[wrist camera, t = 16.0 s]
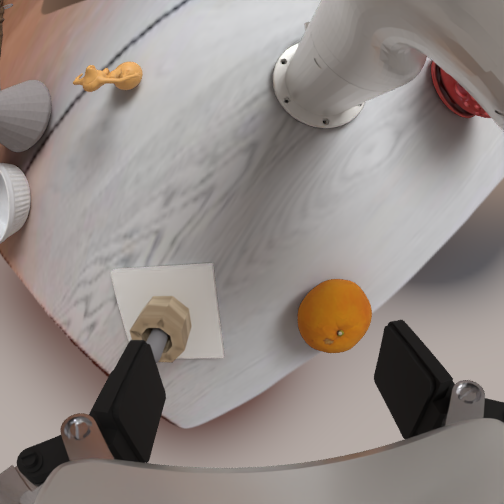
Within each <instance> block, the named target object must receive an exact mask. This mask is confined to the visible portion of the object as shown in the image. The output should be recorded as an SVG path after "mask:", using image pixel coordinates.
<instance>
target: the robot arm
mask: <svg viewBox="0 0 504 504" xmlns="http://www.w3.org/2000/svg"><path fill="white" fill-rule="evenodd" d="M304 25H305V33H304V35H303V37H302V39H301V41H300V43H297V44H295V45H293V46H291V47H289V48H288V49H287V50H285V51H284V52H283V53H282V55H281V56H280V57H279V59H278V60H277V62H276V64H275V67H274V71H273V78H272V79H273V88H274V91H275V95H276V97H277V99H278V101H279V103H280V104H281V105H282V107H283V108H284V109H285V110H286V111H287V112H288V113H289V114H290V115H291V116H292V117H294V118H295V119H297V120H298V121H300V122H302V123H304V124H306V125H309V126H313V127H317V128H334V127H338V126H341V125H344V124H346V123H348V122H350V121H351V120H353V119H354V118H355V117H356V116H357V115H358V114H359V113H360V112H361V110H362V108H363V107H364V104H365V102H366V101H368V100H370V99H373V98H375V97H377V96H380V95H382V94H384V93H387V92H389V91H392V90H394V89H396V88H398V87H401V86H403V85H405V84H407V83H409V82H410V81H412V80H413V79H414V78H415V77H416V76H417V75H418V74H419V73H420V71H421V69H422V68H423V66H424V63H425V61H426V57H428V58H430V59H431V60H432V61H433V62H435V63H436V64H437V65H438V66H439V67H441V68H442V69H443V70H444V71H445V72H446V73H447V74H449V75H451V76H452V77H453V78H454V79H455V80H456V81H457V82H458V83H459V84H460V85H461V86H462V87H463V88H464V89H465V90H466V91H467V92H468V93H469V94H470V95H471V96H472V97H473V98H474V99H475V100H476V101H477V102H478V103H479V105H480V106H481V107H482V108H483V109H484V110H485V111H486V112H487V114H488V115H489V116H490V117H491V118H492V119H493V120H494V121H495V123H496V124H497V125H498V126H499V127H500V128H501V129H502V130H503V132H504V0H321V2H320V4H319V6H318V8H317V10H316V12H315V14H314V15H313V17H312V19H311V21H310V22H307V23H305V24H304ZM281 62H284V63H285V64H282V63H281ZM284 100H287V101H288V103H285V102H284ZM357 105H358V106H357ZM323 121H325V122H326V124H323ZM374 380H375V384H376V385H377V387H378V389H379V391H380V393H381V395H382V397H383V399H384V401H385V403H386V405H387V406H388V408H389V410H390V412H391V414H392V416H393V418H394V420H395V422H396V424H397V426H398V428H399V430H400V432H401V434H402V436H403V438H404V439H405V440H402V441H399V442H395V443H392V444H389V445H385V446H382V447H378V448H375V449H371V450H367V451H363V452H359V453H354V454H349V455H345V456H340V457H335V458H329V459H324V460H318V461H311V462H304V463H297V464H288V465H278V466H266V467H248V468H200V467H182V466H169V465H158V464H149V463H147V462H148V461H149V459H150V455H151V451H152V447H153V443H154V439H155V436H156V432H157V428H158V425H159V421H160V417H161V414H162V410H163V406H164V403H165V399H166V394H165V390H164V387H163V384H162V381H161V378H160V375H159V372H158V368H157V365H156V362H155V359H154V355H153V352H152V348H151V345H150V344H147V343H146V341H145V340H130V342H129V343H128V345H127V347H126V349H125V351H124V352H123V354H122V356H121V358H120V360H119V361H118V363H117V365H116V367H115V369H114V371H112V372H111V374H110V375H109V377H108V379H107V381H106V383H105V385H104V387H103V389H102V390H101V392H100V394H99V396H98V398H97V400H96V402H95V404H94V406H93V408H92V410H91V412H90V414H89V415H87V414H80V413H79V414H74V415H72V416H70V417H68V418H67V419H66V420H65V421H64V422H63V424H62V426H61V435H59V436H57V437H55V438H52V439H50V440H47V441H45V442H42V443H40V444H37V445H35V446H32V447H29V448H27V449H25V450H23V451H22V452H21V453H20V455H19V456H18V459H17V466H16V467H14V466H13V465H12V466H10V467H9V468H8V469H6V470H5V471H3V472H2V473H1V474H0V504H504V402H499V401H495V400H490V399H486V398H485V393H484V390H483V388H482V387H481V386H480V385H479V384H477V383H476V382H473V381H470V380H463V381H459V382H458V383H456V384H454V382H453V381H452V380H453V378H452V377H451V376H450V374H449V373H448V372H447V371H446V369H445V368H444V367H443V366H442V365H441V363H440V362H439V361H438V360H437V359H436V357H435V356H434V355H433V354H432V353H431V351H430V350H429V349H428V348H427V347H426V346H425V345H424V343H423V342H422V341H421V340H420V339H419V337H418V336H417V335H416V334H415V333H414V332H413V331H412V330H411V328H410V327H409V326H408V325H407V324H406V323H405V322H404V321H403V320H398V321H392V322H389V324H388V326H385V328H384V333H383V338H382V343H381V348H380V353H379V357H378V362H377V366H376V370H375V374H374Z"/></svg>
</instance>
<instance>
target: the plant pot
mask: <svg viewBox="0 0 504 504" xmlns="http://www.w3.org/2000/svg"><path fill="white" fill-rule="evenodd" d="M431 74H432V80H433V83H434V86H435V89H436V91H437V93H438V95H439V97H440V98H441V100H442V101H443V103H444V104H445V105H446V106H447V107H448V108H449V109H450V110H451V111H453V112H454V113H455V114H457V115H459V116H461V117H465V118H471V117H473V116H475V115H477V116H480V117H485V118H491V117H490V116H489V115H488V114H487V112H486V111H485V110H484V109H483V108H482V107H481V106H480V105H479V103H478V102H477V101H476V100H475V99H474V98H473V97H472V96H471V95H470V94H469V93H468V92H467V91H466V90H465V89H464V88H463V87H462V86H461V85H460V84H459V83H458V82H457V81H456V80H455V79H454V78H453V77H452V76H451V75H449V74H447V73H446V72H445V71H444V70H443V69H442V68H441V67H439V66H438V65H437V64H436V63H435V62H433V61H432V65H431Z"/></svg>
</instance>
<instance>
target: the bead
mask: <svg viewBox="0 0 504 504" xmlns="http://www.w3.org/2000/svg"><path fill="white" fill-rule="evenodd" d="M191 327H192V325H191V319H190V313H189V308H187V307H186V306H185V305H183V304H182V303H181V302H180V301H178V300H177V299H176V298H175V297H173V296H153V297H152V298H151V300H150V301H149V302H148V303H147V305H146V306H145V307H144V308H143V310H142V311H141V313H140V314H139V316H138V318H137V319H136V321H135V322H134V324H133V326H132V327H131V329H130V335H131V338H132V340H145V341H147V339H148V337H149V335H150V333H151V331H152V329H153V328H160V329H162V330H163V331H164V332H166V333H167V334H168V335H169V337H168V340H167V343H166V345H165V348H164V350H163V353H162V356H161V358H160V360H159V361H158V362H173V361H174V360H175V359H176V358H177V357H178V356H179V355H180V354H182V353H183V352H184V351H185V347H186V344H187V340H188V337H189V333H190V330H191Z"/></svg>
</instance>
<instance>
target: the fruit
mask: <svg viewBox="0 0 504 504" xmlns="http://www.w3.org/2000/svg"><path fill="white" fill-rule="evenodd" d="M371 317H372V310H371V305H370V303H369V300H368V299H367V297H366V295H365V294H364V292H363V291H362V290H361V288H360V287H359V286H358V285H357V284H355V283H354V282H351V281H348V280H343V279H331V280H327V281H324V282H322V283H320V284H319V285H317V286H316V287H315V288H313V289H312V290H311V291H310V292H309V293H308V294H307V295H306V296H305V298H304V299H303V301H302V303H301V304H300V307H299V309H298V328H299V331H300V334H301V336H302V337H303V339H304V340H305V342H306V343H307V344H308V345H309V346H310V347H312V348H314V349H316V350H319V351H323V352H327V353H339V352H344V351H347V350H349V349H351V348H352V347H353V346H355V345H356V344H357V343H358V342H359V341H360V339H361V338H362V337H363V336H364V335H365V333H366V331H367V330H368V327H369V325H370V322H371Z"/></svg>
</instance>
